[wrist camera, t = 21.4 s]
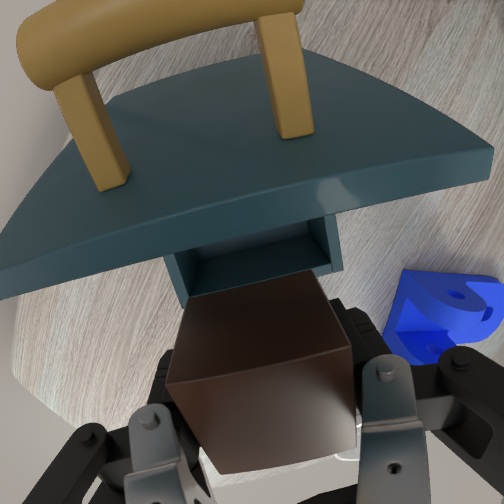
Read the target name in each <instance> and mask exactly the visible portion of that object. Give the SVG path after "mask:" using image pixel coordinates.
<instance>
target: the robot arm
mask: <svg viewBox="0 0 504 504" xmlns="http://www.w3.org/2000/svg"><path fill="white" fill-rule="evenodd" d="M329 302H330V304H331V306H332V308H333V310H334V312H335V314H336V316H337V318H338V319H339V321H340V323H341V325H342V327H343V329H344V331H345V333H346V335H347V337H348V339H349V341H350V343H351V345H352V356H353V369H354V384H355V401H356V416H357V415H361V418H362V426H361V440H360V460H359V475H358V484H355V485H351V486H348V487H344V488H340V489H337V490H333V491H329V492H325V493H321V494H318V495H316V496H313V497H311V498H309V499H307V500H304V501H302V502H300V503H297V504H431V494H430V477H429V465H428V454H427V444H426V436H425V431H428V430H430V431H431V432H432V433H433V434H434V435H435V436H436V437H437V438H438V439H439V440H441V441H442V442H443V443H444V444H445V445H446V446H447V447H448V448H450V449H451V450H452V451H453V452H454V453H455V454H456V455H457V456H458V457H460V458H461V459H462V460H463V461H464V462H465V463H466V464H467V465H469V466H470V467H471V468H472V469H473V470H474V471H475V472H476V473H478V474H479V475H480V476H481V477H482V478H483V479H484V480H486V481H487V482H488V483H489V484H490V485H491V486H492V487H493V488H495V489H496V490H497V491H498V492H499V493H500V494H501V495H503V499H502V502H501V504H504V367H502V366H501V365H499V364H497V363H496V362H494V361H493V360H491V359H489V358H488V357H486V356H484V355H483V354H481V353H480V352H478V351H476V350H475V349H473V348H470V347H466V346H455V347H451V348H449V349H447V350H445V351H444V352H443V353H442V354H441V355H440V357H439V359H438V363H433V364H425V365H410V364H409V363H408V362H407V360H405V359H404V358H402V357H400V356H397V355H393V353H392V352H391V350H390V349H389V347H388V345H387V344H386V342H385V341H384V339H383V338H382V336H381V335H380V333H379V332H378V330H376V327H375V326H374V324H373V323H372V321H371V320H370V318H369V317H368V315H367V314H366V313H365V312H364V311H362V310H360V309H358V308H356V307H355V308H351V309H347V310H346V309H345V308H344V306H343V304H342V302H341V301H340V299H339V298H336V299H332V300H329ZM173 350H174V349H170V350H167V351H166V352H165V354H164V355H163V356H162V357H161V359H160V360H159V364H158V367H157V371H156V374H155V379H154V381H153V384H152V388H151V391H150V395H149V398H148V402H147V405H145V406H143V407H141V408H139V409H138V410H137V411H135V412H134V413H133V415H132V416H131V417H130V420H129V423H128V426H126V427H123V428H119V429H116V430H113V431H110V432H107V430H106V429H105V428H104V427H103V426H102V425H101V424H99V423H88V424H85V425H83V426H81V427H79V428H78V429H77V430H76V431H75V432H74V433H73V434H72V436H71V437H70V438H69V440H68V441H67V442H66V444H65V445H64V447H63V448H62V449H61V451H60V452H59V453H58V455H57V456H56V457H55V459H54V460H53V461H52V463H51V464H50V466H49V467H48V468H47V470H46V471H45V472H44V474H43V475H42V477H41V478H40V479H39V481H38V482H37V484H36V485H35V486H34V488H33V489H32V491H31V492H30V493H29V495H28V496H27V498H26V499H25V500H24V502H23V503H22V504H82V500H83V497H84V496H85V494H86V493H87V491H88V489H89V488H90V486H91V485H92V483H93V482H94V480H95V478H96V477H97V476H98V477H99V478H100V479H101V480H102V482H101V484H100V485H99V487H98V489H97V490H96V492H95V494H94V495H93V497H92V498H91V500H90V502H89V503H88V504H217V503H216V500H215V497H214V495H213V492H212V489H211V486H210V483H209V481H208V478H207V475H206V472H205V469H204V466H203V463H202V460H201V459H200V457H199V448H200V447H201V445H200V444H199V442H198V441H197V439H196V437H195V436H194V434H193V433H192V431H191V429H190V428H189V426H188V424H187V423H186V421H185V419H184V418H183V416H182V414H181V413H180V411H179V409H178V407H177V406H176V404H175V402H174V400H173V399H172V397H171V395H170V393H169V391H168V390H167V388H166V386H165V381H166V377H167V373H168V369H169V365H170V361H171V357H172V354H173Z"/></svg>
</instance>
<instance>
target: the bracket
mask: <svg viewBox="0 0 504 504" xmlns="http://www.w3.org/2000/svg"><path fill="white" fill-rule="evenodd" d="M503 318H504V285H503V284H502V283H501V282H499V281H498V280H496V279H495V278H493V277H490V276H478V275H465V274H452V273H439V272H427V271H414V270H403V272H402V275H401V279H400V282H399V286H398V289H397V293H396V296H395V299H394V302H393V306H392V309H391V312H390V315H389V318H388V321H387V324H386V327H385V330H384V333H383V336H382V338H383V339H384V341H385V342H386V344H387V345H388V347H389V349H390V350H391V352H392V353H393V355H397V356H400V357H402V358H404V359H405V360H407V362H408V363H409V364H410V365H425V364H433V363H438V359H439V357H440V355H441V354H442V353H443V352H444V351H445V350H447V349H449V348H451V347H455V346H457V345H456V344H462V343H473V342H479V341H482V340H484V339H485V338H487V337H488V336H490V335H491V334H492V333H493V332H494V331H495V330H496V329H497V328H498V326H499V325H500V324H501V322H502V320H503Z"/></svg>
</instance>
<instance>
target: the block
mask: <svg viewBox="0 0 504 504" xmlns="http://www.w3.org/2000/svg"><path fill="white" fill-rule="evenodd" d="M165 386H166V388H167V390H168V391H169V393H170V395H171V397H172V399H173V400H174V402H175V404H176V406H177V407H178V409H179V411H180V413H181V414H182V416H183V418H184V419H185V421H186V423H187V424H188V426H189V428H190V429H191V431H192V433H193V434H194V436H195V437H196V439H197V441H198V442H199V444H200V445H201V447H202V448H203V450H204V451H205V453H206V455H207V456H208V458H209V459H210V461H211V462H212V464H213V465H214V467H215V468H216V469H217V471H218V472H219V474H221V475H224V474H233V473H241V472H248V471H255V470H262V469H268V468H274V467H279V466H285V465H290V464H295V463H299V462H304V461H308V460H313V459H317V458H321V457H325V456H329V455H333V454H337V453H340V452H344V451H347V450H351V449H354V448H356V447H357V425H356V401H355V384H354V369H353V356H352V345H351V343H350V341H349V339H348V337H347V335H346V333H345V331H344V329H343V327H342V325H341V323H340V321H339V319H338V318H337V316H336V314H335V312H334V310H333V308H332V306H331V304H330V302H329V300H328V298H327V296H326V295H325V293H324V291H323V289H322V287H321V285H320V283H319V281H318V279H317V278H316V276H315V274H314V272H313V270H312V269H309V270H306V271H302V272H298V273H293V274H289V275H285V276H281V277H277V278H273V279H269V280H265V281H261V282H257V283H252V284H248V285H244V286H240V287H235V288H231V289H227V290H223V291H218V292H214V293H210V294H205V295H201V296H196V297H192V298H188V299H187V302H186V305H185V309H184V313H183V316H182V320H181V324H180V327H179V331H178V335H177V338H176V342H175V346H174V350H173V354H172V357H171V361H170V365H169V369H168V373H167V377H166V381H165Z"/></svg>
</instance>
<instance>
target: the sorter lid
mask: <svg viewBox="0 0 504 504" xmlns="http://www.w3.org/2000/svg"><path fill="white" fill-rule="evenodd" d="M304 1H305V0H56V1H55V2H53V3H51V4H49V5H48V6H46V7H44V8H43V9H41V10H39V11H38V12H36V13H34V14H33V15H31V16H30V17H28V18H26V19H25V20H24V21H23V23H22V24H21V25H20V27H19V29H18V32H17V38H16V47H17V53H18V57H19V60H20V63H21V65H22V68H23V70H24V71H25V73H26V75H27V76H28V78H29V79H30V80H31V81H32V82H33V83H34V84H35V85H36V86H37V87H39V88H41V89H43V90H47V91H50V90H51V91H52V90H53V91H54V93H55V96H56V99H57V101H58V103H59V106H60V108H61V111H62V113H63V116H64V118H65V120H66V123H67V125H68V127H69V129H70V132H71V134H72V136H73V139H72V140H71V141H70V142H69V144H68V145H67V146H66V147H65V148H64V149H63V150H62V152H61V153H60V154H59V155H58V156H57V157H56V159H55V160H54V161H53V162H52V163H51V165H50V166H49V167H48V168H47V170H46V171H45V172H44V173H43V175H42V176H41V177H40V178H39V180H38V181H37V182H36V184H35V185H34V186H33V188H32V189H31V190H30V191H29V193H28V194H27V195H26V197H25V198H24V200H23V201H22V202H21V204H20V205H19V207H18V208H17V210H16V211H15V212H14V214H13V215H12V217H11V218H10V220H9V221H8V223H7V224H6V226H5V227H4V229H3V230H2V232H1V233H0V300H3V299H7V298H10V297H14V296H17V295H21V294H24V293H28V292H32V291H35V290H39V289H42V288H46V287H50V286H53V285H57V284H60V283H64V282H68V281H71V280H75V279H79V278H83V277H86V276H90V275H94V274H97V273H101V272H105V271H109V270H112V269H116V268H120V267H124V266H127V265H131V264H135V263H139V262H143V261H147V260H150V259H154V258H158V257H162V256H166V255H170V254H174V253H177V252H181V251H185V250H189V249H193V248H197V247H201V246H205V245H209V244H213V243H217V242H221V241H225V240H229V239H233V238H237V237H241V236H245V235H249V234H253V233H257V232H261V231H265V230H269V229H274V228H278V227H282V226H286V225H290V224H294V223H298V222H303V221H307V220H311V219H315V218H319V217H324V216H328V215H332V214H336V213H341V212H345V211H349V210H353V209H358V208H362V207H366V206H371V205H375V204H379V203H384V202H388V201H393V200H397V199H401V198H406V197H410V196H415V195H419V194H424V193H428V192H433V191H437V190H442V189H447V188H451V187H456V186H460V185H465V184H470V183H474V182H479V181H484V180H488V179H489V176H490V171H491V166H492V160H493V155H494V147H493V146H492V145H490V144H489V143H487V142H486V141H485V140H483V139H482V138H480V137H479V136H477V135H476V134H474V133H473V132H472V131H470V130H469V129H467V128H466V127H464V126H462V125H461V124H459V123H458V122H456V121H455V120H453V119H451V118H450V117H448V116H447V115H445V114H443V113H442V112H440V111H438V110H437V109H435V108H433V107H431V106H430V105H428V104H426V103H424V102H423V101H421V100H419V99H417V98H415V97H413V96H412V95H410V94H408V93H406V92H404V91H402V90H400V89H398V88H396V87H394V86H392V85H390V84H388V83H386V82H384V81H382V80H380V79H378V78H375V77H373V76H371V75H369V74H367V73H364V72H362V71H360V70H358V69H355V68H353V67H351V66H348V65H346V64H343V63H341V62H338V61H336V60H333V59H331V58H328V57H325V56H323V55H320V54H317V53H315V52H312V51H309V50H306V49H303V48H302V47H301V41H300V36H299V31H298V26H297V21H296V16H295V15H296V14H298V13H300V12H301V11H302V9H303V6H304ZM251 21H253V22H254V27H255V31H256V35H257V40H258V44H259V49H260V53H261V54H256V55H251V56H247V57H242V58H237V59H233V60H229V61H224V62H220V63H216V64H212V65H208V66H205V67H201V68H197V69H194V70H190V71H187V72H184V73H180V74H177V75H174V76H170V77H167V78H164V79H161V80H158V81H155V82H152V83H149V84H147V85H144V86H141V87H138V88H135V89H133V90H130V91H128V92H125V93H122V94H120V95H117V96H115V97H113V98H112V99H111V100H110V101H109V102H108V103H107V104H106V105H104V103H103V100H102V97H101V95H100V92H99V89H98V87H97V84H96V81H95V79H94V76H93V73H92V71H94V70H97V69H99V68H101V67H104V66H106V65H108V64H111V63H113V62H115V61H118V60H120V59H123V58H125V57H128V56H131V55H133V54H136V53H139V52H141V51H144V50H147V49H150V48H153V47H155V46H158V45H161V44H165V43H168V42H171V41H174V40H177V39H181V38H184V37H188V36H191V35H195V34H198V33H202V32H206V31H210V30H214V29H218V28H222V27H227V26H231V25H236V24H241V23H246V22H251Z"/></svg>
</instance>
